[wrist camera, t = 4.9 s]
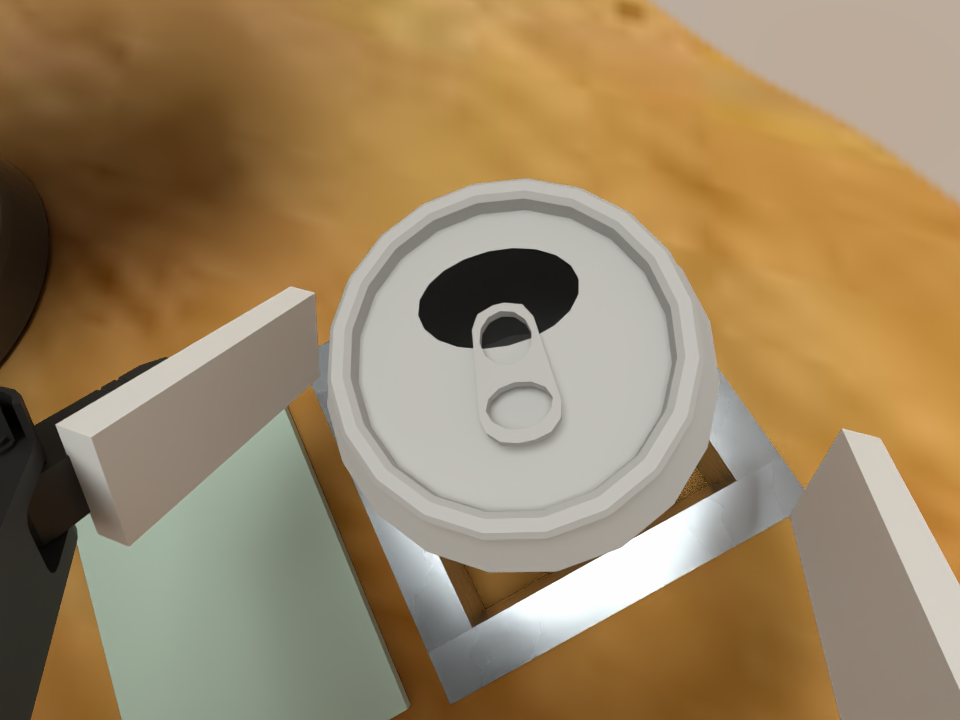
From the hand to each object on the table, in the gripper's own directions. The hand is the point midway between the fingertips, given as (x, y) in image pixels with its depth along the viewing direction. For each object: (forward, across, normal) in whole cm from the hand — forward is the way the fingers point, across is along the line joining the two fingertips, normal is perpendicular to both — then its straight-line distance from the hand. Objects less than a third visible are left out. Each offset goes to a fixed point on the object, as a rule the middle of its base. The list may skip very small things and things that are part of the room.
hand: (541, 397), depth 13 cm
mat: (-2, -10, -11) cm, 15 cm away
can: (+5, 0, -5) cm, 7 cm away
